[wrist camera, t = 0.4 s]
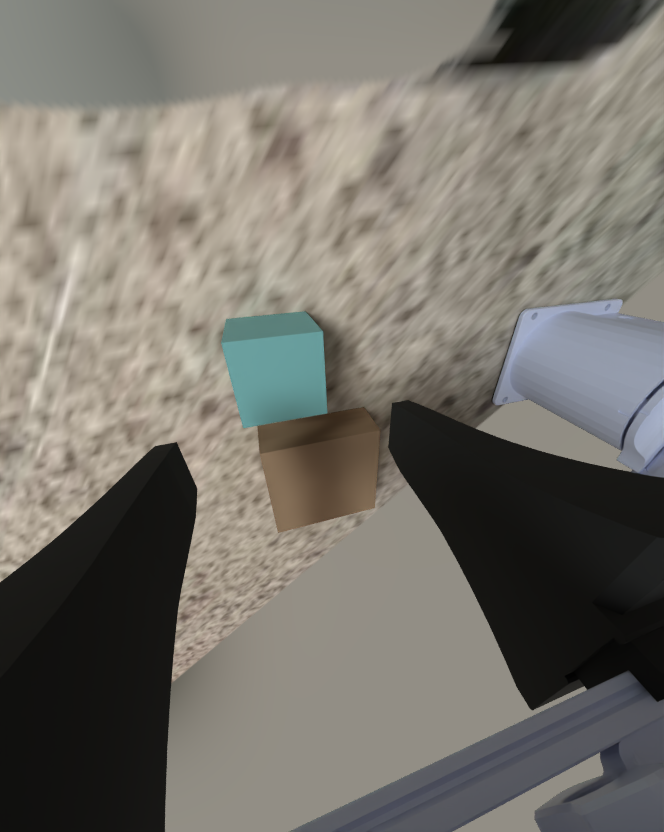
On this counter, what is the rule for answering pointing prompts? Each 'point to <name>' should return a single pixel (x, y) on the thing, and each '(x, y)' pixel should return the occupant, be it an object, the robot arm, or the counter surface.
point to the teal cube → (276, 367)
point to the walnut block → (320, 466)
